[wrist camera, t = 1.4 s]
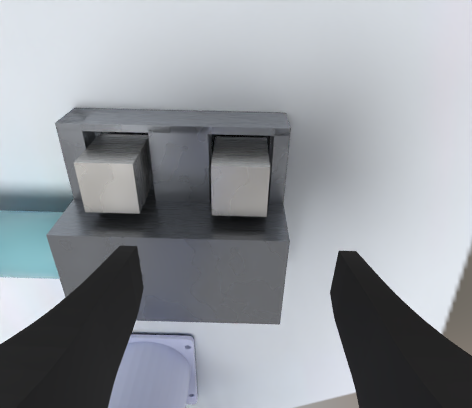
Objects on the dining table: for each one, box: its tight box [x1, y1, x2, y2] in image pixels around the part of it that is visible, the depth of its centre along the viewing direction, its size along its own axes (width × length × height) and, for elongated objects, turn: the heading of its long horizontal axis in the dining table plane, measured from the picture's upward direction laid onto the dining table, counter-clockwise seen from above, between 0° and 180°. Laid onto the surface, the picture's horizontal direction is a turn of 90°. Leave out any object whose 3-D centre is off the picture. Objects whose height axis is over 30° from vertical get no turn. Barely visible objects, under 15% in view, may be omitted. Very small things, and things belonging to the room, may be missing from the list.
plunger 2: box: [211, 137, 270, 217], centre depth 20 cm, size 3×3×4 cm
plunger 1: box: [74, 134, 153, 214], centre depth 20 cm, size 3×3×4 cm
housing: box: [46, 108, 291, 324], centre depth 21 cm, size 10×12×6 cm
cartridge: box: [0, 210, 63, 279], centre depth 22 cm, size 13×4×4 cm, turn 89°
